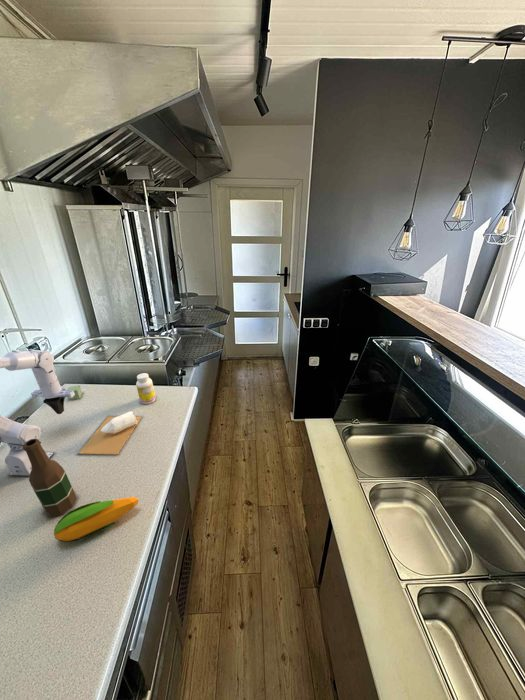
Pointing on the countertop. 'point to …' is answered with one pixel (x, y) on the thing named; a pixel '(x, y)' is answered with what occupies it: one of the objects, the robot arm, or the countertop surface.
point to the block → (77, 392)
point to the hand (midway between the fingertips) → (60, 412)
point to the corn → (92, 518)
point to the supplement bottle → (145, 388)
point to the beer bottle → (49, 480)
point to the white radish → (120, 423)
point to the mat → (107, 440)
